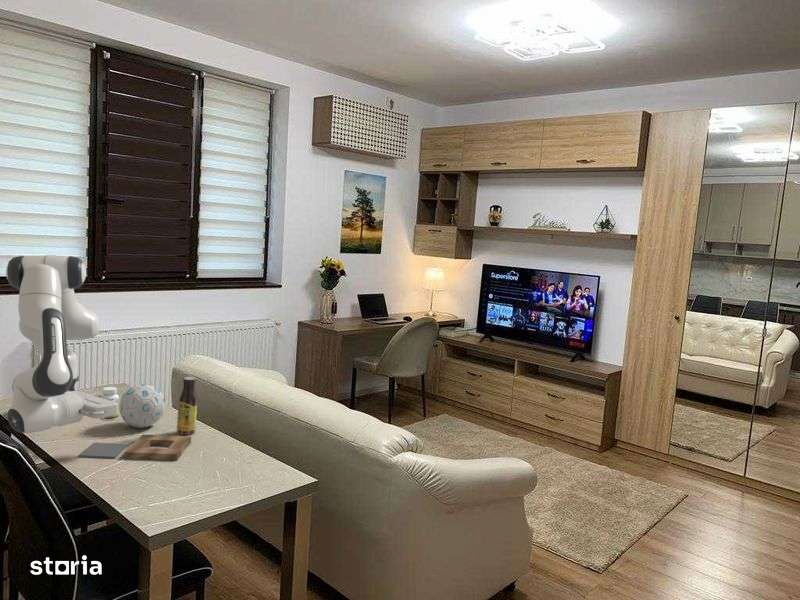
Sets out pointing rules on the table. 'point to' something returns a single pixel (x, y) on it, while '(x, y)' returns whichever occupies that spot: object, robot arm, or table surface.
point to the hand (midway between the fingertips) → (112, 399)
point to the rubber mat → (103, 450)
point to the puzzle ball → (142, 406)
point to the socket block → (144, 452)
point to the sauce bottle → (187, 408)
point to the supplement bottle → (110, 395)
